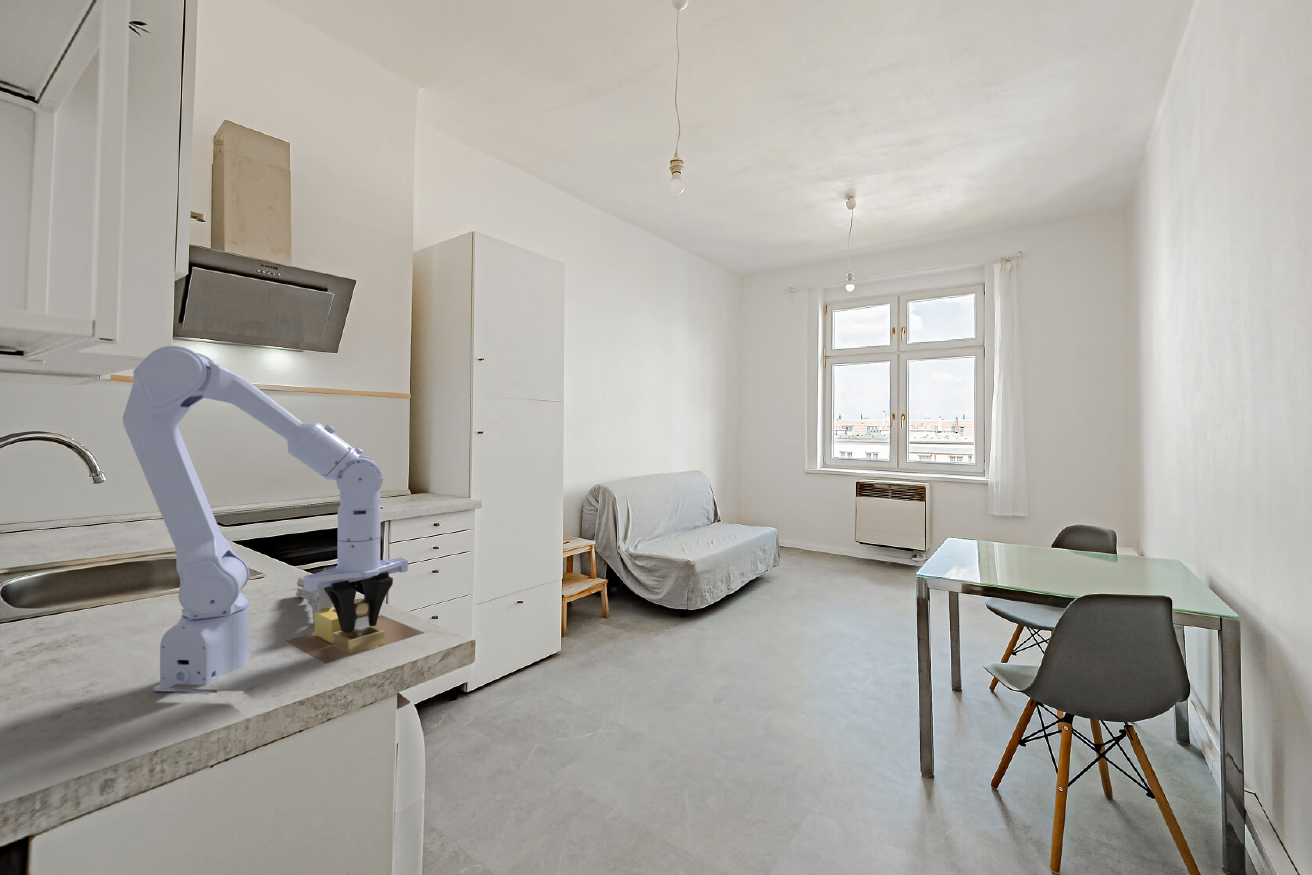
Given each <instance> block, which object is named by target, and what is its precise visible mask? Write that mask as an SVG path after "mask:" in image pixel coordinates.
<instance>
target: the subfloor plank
mask: <svg viewBox="0 0 1312 875" xmlns="http://www.w3.org/2000/svg"><path fill="white" fill-rule="evenodd" d="M421 634H422V635H423V634H425V632H424V631H422V630H420V629H416V628H415V627H412V626H409V625H407V624H404V623H402V622H399V621H397V620H394V619H391V618H390V617H388V616H385V615H382V614H381V615H380V614H379V615H378V619H377V623H376V626H370V634H368V635H365V636H361V637H358V638H349V637H348V633H345V632H343V631H337V632H334V633H332V643H330V642H328V641H326V640H325V639H323V638H321V637H319V636H317V635H315V632H313V633H310V634H305V635H302V636H298V637H294V638H290V639H287V640H285V642H287V643H288V644H290V645H292V646H294V647H296V648H297V649H299V650H301V651H303V652H304V653H306V654H308V655H310V656H311V657H313V658H315V659H317V660H319V661H320V662H322V663H324V664H329V663H333V662H335V661H338V660H341V659H345V658H348V657H352V656H355V655H358V654H361V653H364V652H367V651H371V650H374V649H378V648H380V647H383V646H386V645H390V644H394V643H396V642H399V641H402V640H406V639H410V638H412V637H415V636H419V635H421Z"/></svg>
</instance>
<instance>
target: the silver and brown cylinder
mask: <svg viewBox="0 0 1312 875" xmlns="http://www.w3.org/2000/svg"><path fill="white" fill-rule="evenodd" d="M368 634H370V599H364V597H363V598H355V600H354V606H353V630H352V632H351V633H348V637H349V638H358V637H361V636H365V635H368Z"/></svg>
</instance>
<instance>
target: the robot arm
mask: <svg viewBox="0 0 1312 875" xmlns="http://www.w3.org/2000/svg"><path fill="white" fill-rule="evenodd" d="M203 399H208V400H213V401H219V402H224V403H227V404H232V405H234V406H235V407H237V408H238V409H240V410H241V411H243V412H244V413H246V414H247V415H249V416H251V417H252V418H254V419H255V420H257V421H258V422H259V423H261V424H263V425H265V426H266V427H267V428H269V429H271V430H272V431H274V433H276V434H278V435H279V436H281V437H282V438H284V439H285V440H286V442H287V449H288V453H289V454H290V455H291V456H292V457H294V458H296V459H297V460H298V461H299V462H301V463H302V464H305V466H307V467H308V468H310V469H311V470H313V471H314V472H316V473H317V475H320V476H322V477H323V478H325V479H326V480H333V481H336V486H337V489H338V491H339V507H337V561H336V562H337V567H333V568H330V569H329V568H328V569H325V570H322V571H319V572H315V573H312V574H308V575H304V576H303V577H304V589H305V590H307V591H310V592H312V591H317V590H318V589H320V588H324V590H325V592H326V593H327V595H328V596H329V598H330V600H331V602H332V604H333V608H335V610H336V613H337V616H338V619H339V623H340V628H341V631H343V632H345V633H351V632H352V630H353V606H354V600H355V599H356V594H357V591H358V590H357V589H356V588H355V587H352V584H350V583H352V582H357V581H361V585H362V592H363V598H364V599H370V626H376V623H377V619H378V616H380V611H381V608H382V605H383V603H384V601H385V598H386V596H387V594H388V592H389V591H390V589H391V588H392V587H393V583H394V578H393V577H391V576H390V575H391V574H396V573H406V572H408V571H409V559H408V558H405V557H398V558H390V559H381V533H382V531H381V519H382V517H381V516H382V515H381V514H382V513H381V511H382V508H381V505H380V503H381V502H380V501H381V495H380V489H381V487H382V485H383V483H384V482H383V481H384V479H383V477H382V473H381V470H380V468H379V466H378V464H377V463H375V461H373V460H372V458H370V457H369V456H365V455H362V454H363V453H364V450H363V449H361V448H360V447H356V448H354V447H353V446H352V445H350V444H349V443H347V441H345V440H343V439H342V438H341V437H339V435H337V434H335V431H336V429H335V428H334V427H333V426H332V425H330V424H326V425H323V424H321V423H320V422H315V421H314V422H303V421H301V420H300V419H298V418H297V417H296V416H295V415H293V414H292V413H291V412H290V411H289V410H287V409H286V408H284V407H283V406H281V405H280V404H279V403H278V402H277V401H275V400H274V399H272V398H271V397H270V396H269V395H267V394H266V393H265V392H263V391H262V390H261V389H260V388H258V387H257V386H255V385H254V384H253V383H251V382H250V381H249V380H247V378H245V377H243V376H241V375H240V374H238V373H236V372H234V371H232V370H230V369H228V368H226V366H225V367H224V366H222V365H220V364H218V363H215V362H214V361H213V360H212V359H211V358H210V357H208V356H206V355H204V354H201V353H199V352H195V351H193V350H192V349H189V348H186V347H183V346H179V345H168V346H162V347H159V348H157V349H155V350H153V351H152V352H150V353H149V354H148V355H147V356H146V357H145V358H144V359H143V360H142V361H141V362H140V363H139V364H138V365H137V367H136V368H134V370H133V384H132V386H131V389H130V393H129V396H128V399H127V403H126V405H125V409H124V412H123V415H122V423H123V428H124V429H125V432H126V434H127V436H128V438H129V440H130V445H132V448H133V451H134V453H135V455H136V457H137V460H138V462H139V464H140V467H141V469H142V472H143V474H144V476H145V480H146V481H147V483H148V486H149V488H150V490H151V493H152V495H153V498H154V500H155V502H156V505H157V507H158V509H159V512H160V515H161V517H162V520H163V521H164V524H165V526H166V528H167V530H168V531H167V532H168V533H169V536H170V538H171V541H172V543H173V545H174V548H175V551H176V564H175V565H176V571H177V574H178V576H179V582H180V583H179V589H178V596H177V597H178V601H179V603H180V605H181V607H182V608H183V609H181V616H180V619H179V620H178V622H177V623H176V624H175V625H173V626H172V627H171V628H169V629H168V630H167V631H166V632H165V633H164V634H163V636H162V638H161V640H160V646H159V650H160V651H159V653H160V654H159V666H160V668H159V671H160V672H159V680H160V681H159V682H160V683H158V684H157V685H155V686H154V687H153V692H179V693H181V692H183V693H184V692H185V693H214V692H218V689H206V688H205V689H203V688H172V687H174V686H175V685H185V686H187V685H190V686H191V685H192V686H193V685H194V686H207V685H209V684H210V683H212V682H214V681H215V680H217V679H220V678H221V677H223V676H226V675H227V674H229V673H232V672H234V671H237V670H239V669H241V668H242V667H244V666H245V665H247V663H248V662H249V600H248V599H247V598H246V597H245V596H244V595H243V593H242V590H243V589H244V587H245V586H246V585H247V583H248V581H249V578H250V570H249V566H248V564H247V562H245V560H244V559H242V557H240V556H238V554H236V553H235V551H233V548H232V546H231V544H230V542H229V541H228V540H227V539H226V537H225V536H224V535H223V534H222V533H221V530H220V527H219V526H218V525H219V524H218V522H217V521H216V517H215V516H214V514H213V511H212V508H211V506H210V504H209V501H208V499H207V495H206V493H205V491H204V489H203V486H202V482H201V480H200V479H199V476H198V473H197V471H196V469H195V466H194V464H193V461H192V459H191V456H190V454H189V452H188V449H187V447H186V444H185V441H184V439H183V436H182V435H181V432H180V429H179V424H180V423H181V421H182V420H183V419H184V417H185V416H186V415H187V413H188V412H189V411H190V410H191V408H192V407H193V406H194V405H195V404H197V403H198V402H199V401H202V400H203Z"/></svg>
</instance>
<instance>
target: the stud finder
mask: <svg viewBox="0 0 1312 875" xmlns="http://www.w3.org/2000/svg"><path fill="white" fill-rule="evenodd" d="M337 631H341V628H340V623H339V619H338V616H337V613H336V610H335V608H334V607H331V609H326V610H322V611H318V612H315V625H314V633H315V635H317V636H319V637H321V638H323V639H325V640H326V641H328V642H330V643H332V633H334V632H337Z"/></svg>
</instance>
